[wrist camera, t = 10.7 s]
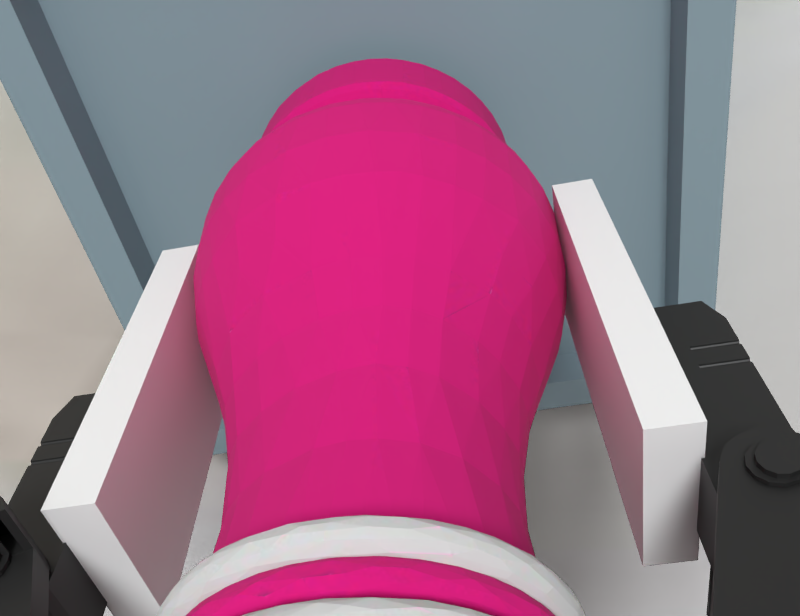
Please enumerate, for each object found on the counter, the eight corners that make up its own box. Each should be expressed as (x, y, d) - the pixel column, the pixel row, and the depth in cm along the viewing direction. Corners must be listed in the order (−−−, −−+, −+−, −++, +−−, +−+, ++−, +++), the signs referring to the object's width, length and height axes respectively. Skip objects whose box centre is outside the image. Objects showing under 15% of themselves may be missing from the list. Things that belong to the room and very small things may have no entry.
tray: (201, 413, 26) (188, 457, 24) (-45, -122, 16) (-93, -108, 15) (688, 343, 24) (710, 386, 22) (716, -293, 15) (756, -300, 13)
